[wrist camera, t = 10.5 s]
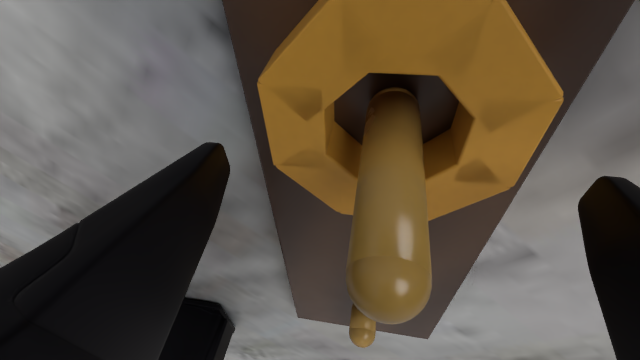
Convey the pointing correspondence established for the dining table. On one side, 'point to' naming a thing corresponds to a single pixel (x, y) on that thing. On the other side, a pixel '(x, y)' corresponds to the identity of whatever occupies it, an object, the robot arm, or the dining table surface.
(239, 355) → the dining table surface
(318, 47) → the ring
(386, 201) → the peg rack
